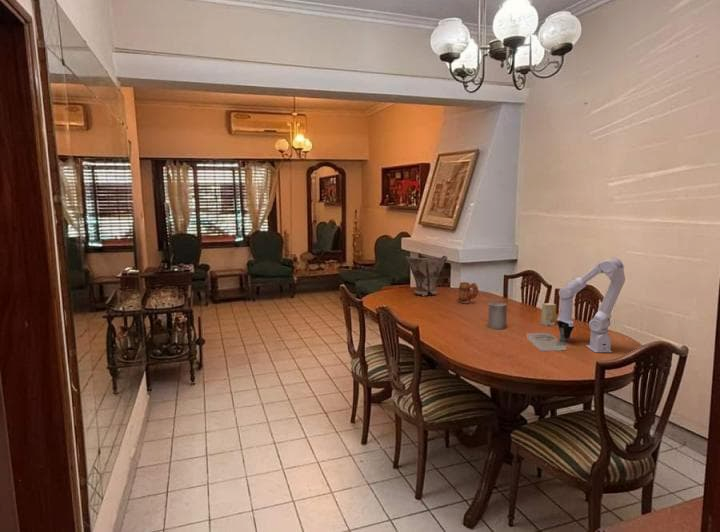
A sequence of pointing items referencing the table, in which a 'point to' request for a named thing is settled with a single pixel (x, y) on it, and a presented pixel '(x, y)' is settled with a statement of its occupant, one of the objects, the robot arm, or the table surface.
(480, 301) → the table surface
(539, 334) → the plate
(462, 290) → the mug
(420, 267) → the vessel
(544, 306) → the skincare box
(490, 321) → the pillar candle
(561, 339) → the bushing
